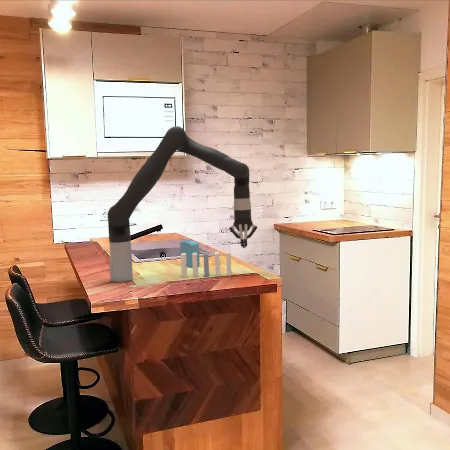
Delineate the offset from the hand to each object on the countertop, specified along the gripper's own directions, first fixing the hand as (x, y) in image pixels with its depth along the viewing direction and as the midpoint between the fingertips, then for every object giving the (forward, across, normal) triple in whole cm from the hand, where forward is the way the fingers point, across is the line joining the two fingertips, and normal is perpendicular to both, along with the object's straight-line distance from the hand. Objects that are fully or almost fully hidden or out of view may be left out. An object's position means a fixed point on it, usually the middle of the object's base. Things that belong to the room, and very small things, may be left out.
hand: (244, 247), depth 223 cm
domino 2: (+12, +22, 0) cm, 25 cm away
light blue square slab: (+12, +27, -26) cm, 39 cm away
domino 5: (+12, +7, 0) cm, 14 cm away
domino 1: (+12, +27, 0) cm, 30 cm away
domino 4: (+12, +12, 0) cm, 17 cm away
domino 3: (+12, +17, 0) cm, 21 cm away
